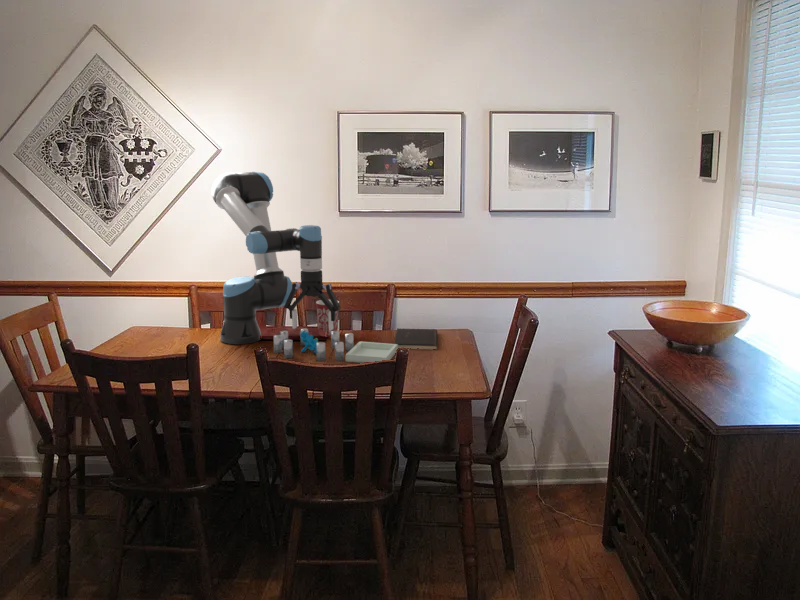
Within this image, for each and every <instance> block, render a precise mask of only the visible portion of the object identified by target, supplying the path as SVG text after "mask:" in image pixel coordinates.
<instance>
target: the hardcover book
mask: <svg viewBox="0 0 800 600" xmlns="http://www.w3.org/2000/svg"><path fill="white" fill-rule="evenodd" d="M395 332H396V333H395V337H394V341H393V342H394V343H393V344H398V348H400V347H406V348H409V349H408V350H433V349H437V350H438V330H437V329H434V328H432V329H431V328H396V331H395ZM410 348H411V349H410ZM417 348H419V349H417Z"/></svg>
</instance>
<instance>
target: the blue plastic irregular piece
mask: <svg viewBox="0 0 800 600" xmlns="http://www.w3.org/2000/svg"><path fill="white" fill-rule="evenodd" d="M299 336H301V337H302V338H301V340H302V341H304V342H306V343H304V344H305V345H306V346H303V348H302V349H301V350H300V351H301V352H302V353H305V351H306V350H307V349H308V350H309V351H311V352H313V353H314V354H316V355H317V344H316V343H317V342H319V339H318V338H317V337H314V335H313V334H310V333H309V331H308V332H304V331H303V332H302V334H301V335H300V334H299Z"/></svg>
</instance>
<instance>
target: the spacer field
mask: <svg viewBox="0 0 800 600" xmlns="http://www.w3.org/2000/svg"><path fill="white" fill-rule="evenodd" d="M303 331H304V332H308V333H309V329H308V328H306V327H305V328H300V330H299V336H300V335H301V334H302V332H303ZM272 336H273V337H272V338H273V339H272V341H273V353H275V354H281V353H283V357H284V359H293V358H294V356H293V355H294V352H293V350H294V349H293V347H294V346H293V341H294V340H293V339H290V338H289V331H288V330H281V331H279V334H273V335H272ZM301 338H302V337H301V336H300V338H299V340H300V344H299V345H300V346H301V347H305V346H306V345H305V344H304V343H306V342H304V341H302V340H301ZM344 338H345V339H344V341H340V331H339V330H337V331H331V338H330V348H331V349H334V360H335V361H336V362H337V361H340V362H341V361H344V359H345V358H344V357H345V356H344V355H345V354H344V351H346V352H349V351H350V350H351V349H352V348H353V347H354V333H352V332H346V333H345V334H344ZM316 344H317V354H316V361H318V362H324V361H326V342H324V341H318V342H317V343H316ZM344 344H345V345H344ZM344 347H345V348H344Z"/></svg>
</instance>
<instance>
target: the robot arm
mask: <svg viewBox="0 0 800 600" xmlns="http://www.w3.org/2000/svg"><path fill="white" fill-rule="evenodd" d="M211 197H212V199H213V202H214V204H216V205H217V207H218V208H220V209H222V210H224V211H225V213H226V214H227V215H228V216H229V217H230V219H231V220H232V221H233V222H234V223H235V225H236V226H237V227H238V228H239V230H240V231H241V232H242V234H243V235H244V236H245V246H246V247H247V251H248V252H249V253H250V254H252V255H253V259H254V264H255V269H256V270H255V271H256V272H255V274H254V275H253V276H250V275H249V276H237V277H233V278H230V279H227V280H226V281H225V282H224V284H223V288H222V289H223V290H222V297H223V314H224V315H223V316H224V320H223V324H222V328H221V331H220V334H219V335H220V336H219V337H220V341H221V342H222V343H225V344H227V345H229V344H230V345H248V344H252V343H256V342H258V341H259V342H260V341H261V339H260V335H261V336H262V333H261V329H260V325H259V324H258V321H257V311H260V310H267V309H278V308H281V307H283V308H284V309H288V311H289V319H290V320H291V321H292V322H291V325H292V326H291V328H292V329H296V328H298V309H296V308H297V306H298V305H299V303H300V302H301V301H302V300H303V298H304V297H305V296H307V297H317V298H319V300H322V302H323V303H324V304H325V305H326V306H327V308H328V309H329V310H330V312H329V313H328V315H329V331H331V330H333V321H335V319H336V314H335V312H336V311H338V310H339V311H340V310H341V305H340V302H339V303H338V301H339V300H338V299H337V297H336V296H335V293H334V291H333V288H332V283H328V284H324V283H323V271H322V269H323V251H322V250H323V249H322V247H323V246H322V245H323V244H322V243H323V236H322V228H321V227H320V226H319V225H313V224H309V225H301V226H299V229H297V228H285V229H281V230H272V227H271V222H270V219H269V212H268V207H269V206H270V205H271V204H270V201H272V199H273V197H274V186H273V183H272V180H271V179H270V177H269V176H268V175H267V174H266V173H264V172H258V171H249V172H247V171H246V172H225V173H223V174H220V175H219V176H218V177H217V178H216V179H215V180H214V182H213V184H212V187H211ZM292 251H298V252H299V255H300V256H299V257H300V270H301V271H300V283H298V282H297V281H295V282H292V280H291V278H290V277H289V276H286V275H285V273H284V272H285V271H284V270H282V269H281V268H280V267H279V264H278V263H279V262H278V257H277V253H278V252H279V253H282V252H292ZM299 289H301V292H300V294H299V295H298V296H297V297H296V299H295V300H294V298H295V295H296V294H297V291H298V290H299ZM323 290H325V291H326V293H327V295H328V297H329V300H331V302H332V304H333V305H332V304H331V302H330V301H329V300H328V298H327V296H326V295H325V293H324V292H323ZM293 300H294V301H293ZM339 311H338V312H339Z"/></svg>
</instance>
